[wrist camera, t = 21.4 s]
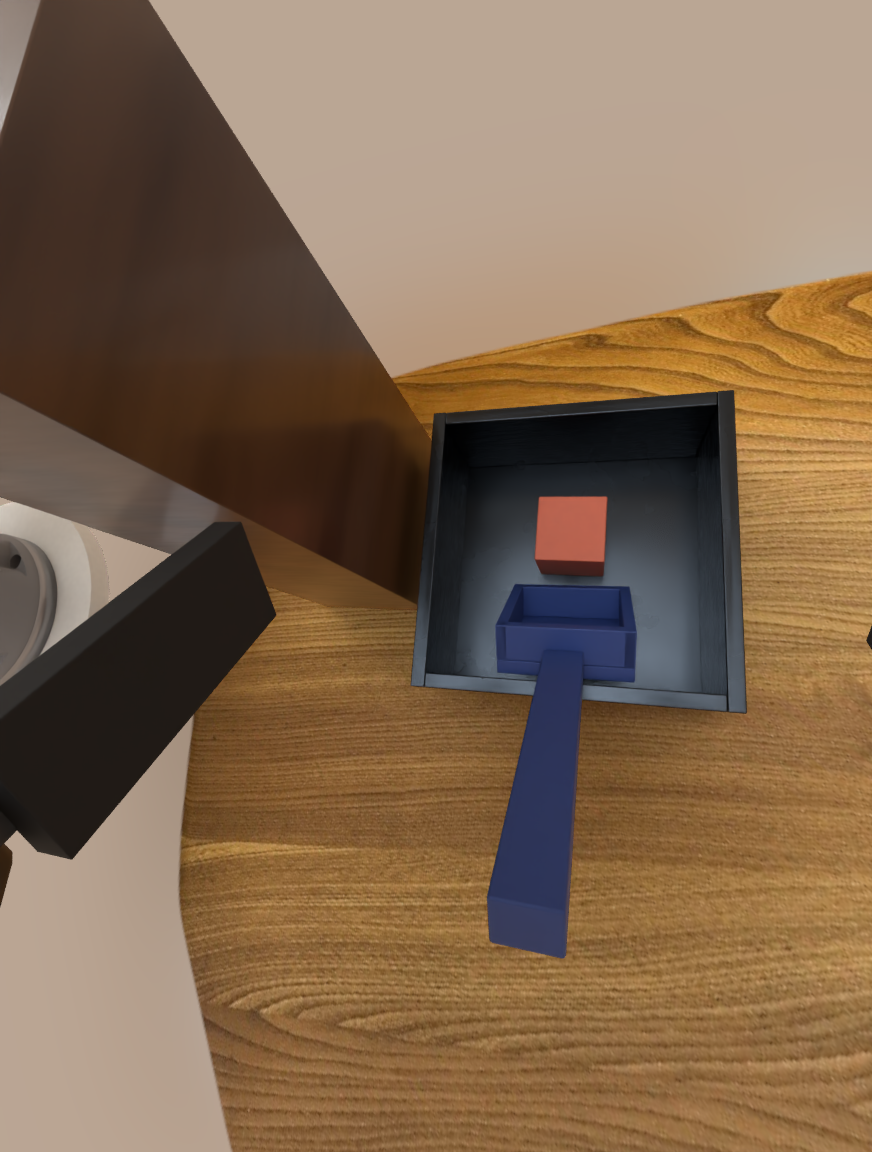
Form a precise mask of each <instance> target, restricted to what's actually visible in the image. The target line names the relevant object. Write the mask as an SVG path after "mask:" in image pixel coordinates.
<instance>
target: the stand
mask: <svg viewBox="0 0 872 1152" xmlns="http://www.w3.org/2000/svg"><path fill="white" fill-rule="evenodd" d="M431 443H432V441H431V439H430V438H429V436H428V435H427V433H426V432H425V430H424V429H423V427H422V425H421V424H420V422H419V421H418V419H417V418H416V416H415V415H414V413H413V411H412V410H411V408H410V407H409V405H408V404H407V402H406V401H405V399H404V397H403V396H402V394H401V393H400V391H399V390H398V388H397V387H396V385H395V383H394V382H393V380H392V379H391V377H390V376H389V374H388V373H387V371H386V369H385V368H384V366H383V365H382V363H381V362H380V360H379V359H378V357H377V355H376V354H375V352H374V351H373V349H372V348H371V346H370V344H369V343H368V342H367V340H366V339H365V337H364V335H363V334H362V332H361V330H360V329H359V327H358V326H357V324H356V323H355V322H354V320H353V318H352V316H351V315H350V313H349V312H348V310H347V309H346V307H345V306H344V304H343V302H342V301H341V299H340V298H339V296H338V295H337V293H336V292H335V290H334V288H333V287H332V285H331V284H330V283H329V281H328V279H327V278H326V276H325V274H324V273H323V271H322V270H321V268H320V267H319V265H318V264H317V262H316V260H315V259H314V257H313V256H312V254H311V253H310V251H309V249H308V248H307V246H306V245H305V243H304V242H303V240H302V239H301V237H300V236H299V234H298V232H297V231H296V229H295V228H294V226H293V225H292V223H291V222H290V220H289V218H288V217H287V215H286V214H285V212H284V211H283V209H282V207H281V206H280V204H279V203H278V201H277V200H276V198H275V197H274V195H273V193H272V192H271V191H270V189H269V187H268V186H267V184H266V183H265V181H264V179H263V178H262V176H261V175H260V173H259V172H258V170H257V168H256V167H255V165H254V164H253V162H252V161H251V159H250V158H249V156H248V155H247V153H246V151H245V150H244V148H243V147H242V145H241V144H240V142H239V141H238V139H237V137H236V136H235V134H234V133H233V131H232V130H231V128H230V127H229V125H228V123H227V122H226V120H225V119H224V117H223V116H222V114H221V113H220V111H219V109H218V108H217V106H216V105H215V103H214V101H213V100H212V98H211V97H210V95H209V94H208V92H207V91H206V89H205V87H204V86H203V85H202V83H201V81H200V80H199V78H198V77H197V75H196V74H195V72H194V70H193V69H192V67H191V66H190V64H189V63H188V61H187V60H186V58H185V56H184V55H183V53H182V52H181V50H180V49H179V47H178V46H177V44H176V42H175V41H174V39H173V38H172V36H171V35H170V33H169V31H168V30H167V28H166V27H165V25H164V24H163V22H162V21H161V19H160V17H159V16H158V14H157V13H156V11H155V10H154V8H153V6H152V5H151V3H150V2H149V0H0V497H1V498H5V499H7V500H11V501H13V502H16V503H19V504H22V505H25V506H28V507H31V508H34V509H37V510H40V511H43V512H46V513H49V514H52V515H55V516H58V517H61V518H64V519H67V520H70V521H73V522H76V523H79V524H82V525H85V526H88V527H91V528H94V529H97V530H100V531H103V532H106V533H109V534H112V535H115V536H118V537H121V538H124V539H127V540H130V541H133V542H136V543H139V544H142V545H145V546H148V547H151V548H154V549H157V550H160V551H163V552H166V553H169V554H173V553H174V552H176V551H177V550H178V549H180V548H181V547H182V546H184V545H185V544H186V543H187V542H189V541H190V540H191V539H193V538H194V537H195V536H197V535H198V534H199V533H201V532H202V531H203V530H204V529H206V528H207V527H208V526H210V525H211V524H212V523H214V522H241V523H242V525H243V528H244V530H245V533H246V536H247V538H248V541H249V544H250V546H251V549H252V552H253V554H254V557H255V560H256V562H257V565H258V567H259V570H260V573H261V575H262V578H263V581H264V583H265V586H268V587H271V588H274V589H277V590H280V591H283V592H286V593H289V594H292V595H295V596H298V597H301V598H304V599H307V600H310V601H313V602H316V603H319V604H322V605H325V606H328V607H347V608H374V609H401V610H417V606H418V594H419V582H420V571H421V559H422V548H423V536H424V524H425V513H426V501H427V489H428V478H429V466H430V455H431Z"/></svg>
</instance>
